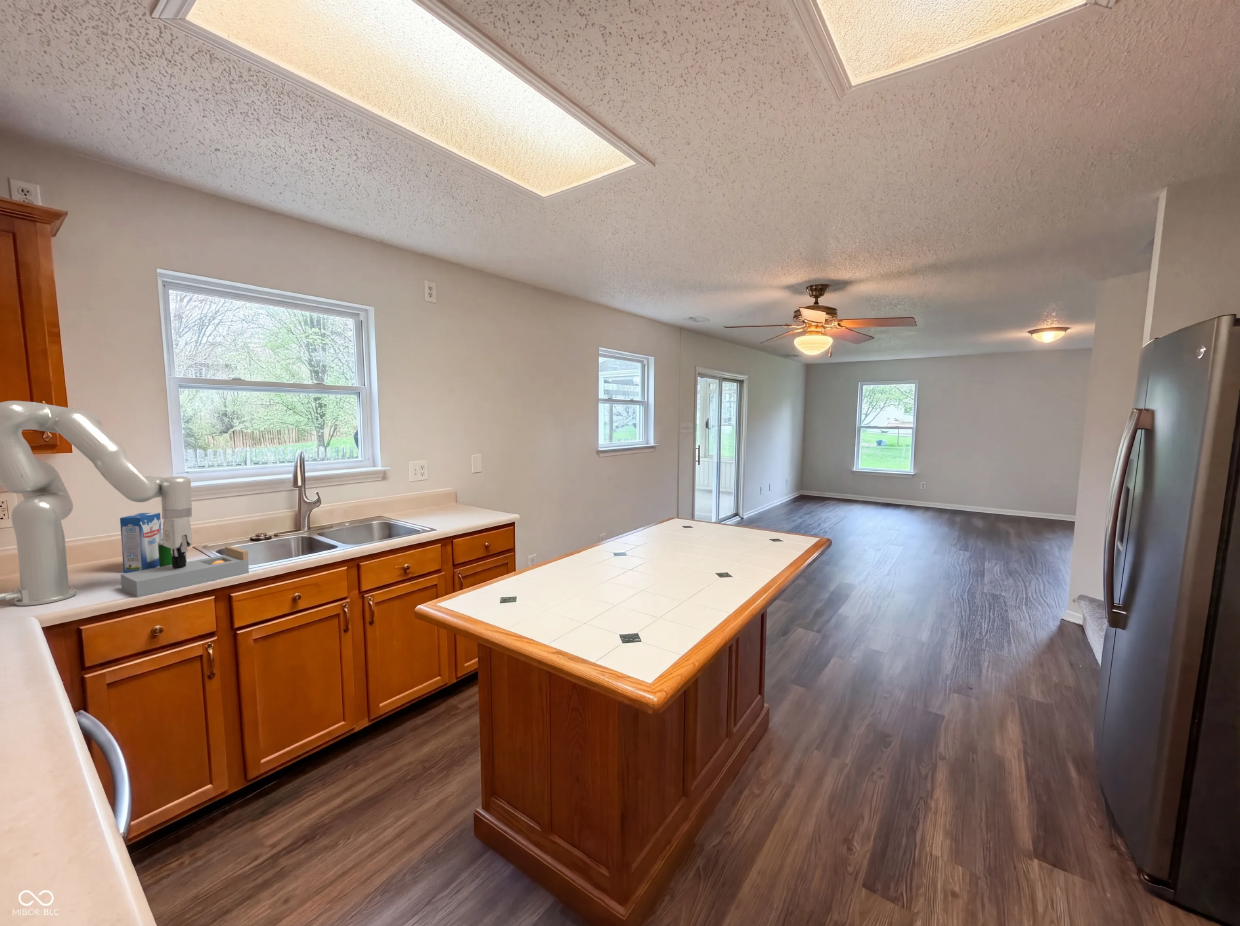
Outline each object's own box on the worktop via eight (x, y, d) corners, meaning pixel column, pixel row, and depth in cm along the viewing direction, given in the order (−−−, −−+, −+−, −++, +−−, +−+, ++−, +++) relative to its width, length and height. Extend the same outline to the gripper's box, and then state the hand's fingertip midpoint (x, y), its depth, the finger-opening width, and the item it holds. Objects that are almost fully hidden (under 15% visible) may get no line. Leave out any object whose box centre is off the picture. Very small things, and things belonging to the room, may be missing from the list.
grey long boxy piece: (137, 597, 154) (136, 572, 154) (121, 589, 161) (120, 565, 161) (248, 572, 180) (247, 551, 179) (230, 566, 187) (229, 545, 186)
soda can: (174, 573, 178) (172, 540, 177) (153, 573, 178) (151, 540, 177) (192, 567, 186) (190, 535, 185) (172, 567, 186) (171, 535, 185)
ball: (218, 578, 176) (210, 567, 174) (211, 576, 178) (204, 565, 176) (233, 569, 180) (225, 558, 177) (226, 567, 182) (219, 556, 180)
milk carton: (144, 565, 188) (141, 512, 186) (163, 564, 189) (160, 512, 187) (123, 573, 178) (119, 517, 176) (143, 572, 179) (140, 517, 177)
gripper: (153, 512, 168) (155, 566, 169) (172, 517, 160) (174, 573, 161) (181, 509, 174) (183, 561, 175) (200, 514, 167) (202, 568, 168)
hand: (179, 567), depth 168 cm, fingers closed
